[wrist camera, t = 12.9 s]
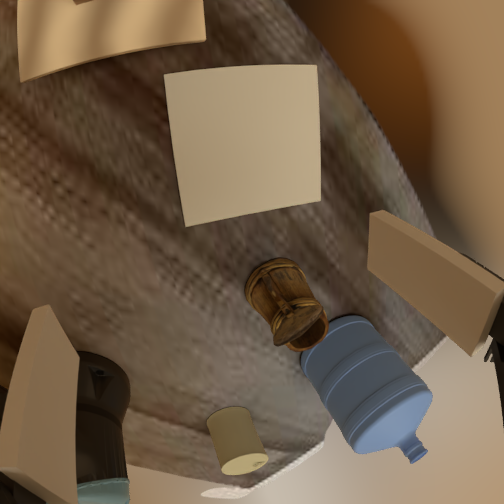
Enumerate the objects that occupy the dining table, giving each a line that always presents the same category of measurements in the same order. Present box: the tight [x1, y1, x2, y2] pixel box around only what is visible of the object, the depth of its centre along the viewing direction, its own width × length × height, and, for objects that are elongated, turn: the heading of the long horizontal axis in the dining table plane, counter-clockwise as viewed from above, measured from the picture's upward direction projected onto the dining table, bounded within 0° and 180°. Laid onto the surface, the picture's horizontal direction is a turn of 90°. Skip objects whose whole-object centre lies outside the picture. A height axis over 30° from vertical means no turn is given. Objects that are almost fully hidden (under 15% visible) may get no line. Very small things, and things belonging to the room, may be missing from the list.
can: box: [207, 407, 268, 475], centre depth 54 cm, size 9×9×12 cm
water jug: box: [301, 315, 433, 464], centre depth 47 cm, size 16×16×28 cm
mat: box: [164, 65, 321, 227], centre depth 36 cm, size 18×18×1 cm
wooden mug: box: [245, 258, 329, 352], centre depth 38 cm, size 9×14×18 cm, turn 33°
